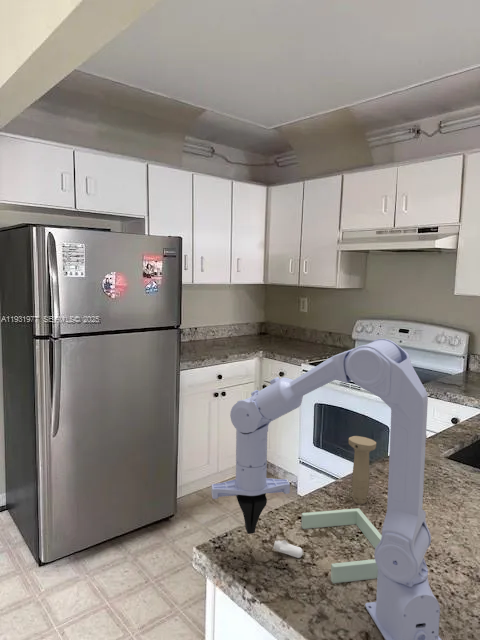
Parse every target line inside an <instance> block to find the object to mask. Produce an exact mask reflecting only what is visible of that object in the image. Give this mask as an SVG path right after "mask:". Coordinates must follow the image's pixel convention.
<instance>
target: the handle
mask: <svg viewBox="0 0 480 640" xmlns="http://www.w3.org/2000/svg"><path fill="white" fill-rule="evenodd" d="M348 445H349V446H350V447H351V448H353V451H354V455H353V456H354V457H353V466H352V473H351V475H352V476H351V478H352V479H351V487H352V488H351V491H352V501H354V503H355V504H360V505H365V504H367V502H368V495H369V490H370V453H371V452H373V451H374V450H376V449H377V441H375V440H374V439H372V438H369V437H365V436H359V435H353V436H350V437H348Z"/></svg>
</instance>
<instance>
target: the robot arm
mask: <svg viewBox="0 0 480 640" xmlns="http://www.w3.org/2000/svg"><path fill="white" fill-rule="evenodd" d="M336 380H337V381H339V382H342V383H345V384H348V383H350V382H352V383H354V384H355V385H356V386H358V387H360V388H361V389H363V390H364V391H367V392H369V393H370V394H373V395H374V396H377V397H378V398H379V399H380V400H381V401H383V402H384V403H385V404H386V405H387V407H389V408H390V431H389V433H390V435H389V436H390V438H389V456H388V457H389V459H388V483H387V484H388V486H387V502H386V503H387V505H386V511H385V512H386V513H385V517H384V520H383V524H382V527H381V535H382V537H381V540H380V542H379V543H378V545H377V546H376V548H374V559H375V561H376V564H377V566H378V575H377V578H376V579H377V580H376V600H375V601H373V602H372V601H371V602H366V603H365V604H364V605H365V609H366V610H367V612H368V613H369V615H370V617H371V618H372V620H373V623H375V625H376V627H377V628H378V630H379V632H380V634H381V636H382V637H383V638H384V640H442V638H441V636H439V630H440V616H441V615H440V614H441V609H440V608H441V607H440V603H439V600H438V599H437V598H436V596H435V595H434V593H433V591H432V588H431V586H430V582H429V568H428V565H427V562H426V560H425V554H426V553H427V550H428V549H429V547H430V546H431V542H432V535H431V531H430V530H429V527H428V524H427V520H426V518H427V517H426V516H427V513H426V511H425V510H424V509H423V502H424V482H425V466H426V465H425V462H426V446H427V444H426V443H427V440H426V439H427V424H428V423H427V421H428V401H429V398H428V392H427V390H426V388H425V386H424V384H423V383H422V381H421V379H420V377H419V376H418V374H417V372H416V370H415V368H414V366H413V364H412V362H411V359H410V354H409V353H408V351H406V350H405V349H403V348H402V347H401V346H400V345H399V344H397V343H396V342H394V341H393V340H391V339H389V338H377V339H374V340H372V341H371V342H369V343H366V344H363V345H362V344H361V345H358V346H357V347H356V346H355V347H354V348H351V349H348V350H345V351H343V352H340V353H338V354H335V355H332V356H331V357H328V358H327V359H326V360H323V362H321V363H319V364H318V365H316V366H314V367H312V368H311V369H309V370H307V371H306V372H305V373H303V374H301V375H299V376H298V377H296V378H295V379H292V378H289V377H286V376H285V377H284V376H283V377H281V378H280V377H279V376H277V377H274V378H273V379H271V380H269V383H270V384H269V385H267V386H266V387H264V388H262V389H260V390H258V389H255V390H253V391H252V392H251V393H250V395H251V396H250V397H247V398H245V399H240V400H238V401H237V402H236V403H235V404H234V405H233V406H232V407H231V410H230V413H229V414H230V417H229V418H230V421H231V423H232V425H233V427H234V428H235V430H236V432H235V433H236V434H235V435H236V437H235V439H236V440H235V479H231V480H227V481H224V482H218V483H212V484H211V492H210V493H211V494H210V495H211V496H212V500H217V499H219V498H220V497H236V500H237V503H238V505H239V507H240V509H241V513H242V514H243V518H244V519H243V521H244V524H245V525H244V527H245V531H246V534H247V535H251V534H255V532H256V528H257V524H258V521H259V519H260V516H261V515H262V513H263V510H264V509H265V507H266V506H267V504H268V503H267V502H268V498H267V494H276V493H278V494H279V493H283V494H285V495H286V494H287V495H288V494H290V493H291V482H289V480H288V479H287V478H285V479H284V478H282V479H280V478H271V477H270V478H268V477H267V473H268V472H267V470H268V469H267V467H268V465H267V463H268V462H267V461H268V432H269V426H270V423H271V422H273V421H275V420H277V419H279V418H281V417H283V416H285V415H286V414H289V413H290V412H293V411H294V410H296V409H298V408H300V407H301V405H302V403H303V402H302V401H303V397H304V396H305V395H307V394H309V393H312V392H313V391H316V390H318V389H319V388H322V387H323V386H326V385H328V384H330V383H331V382H334V381H336Z"/></svg>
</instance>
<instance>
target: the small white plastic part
mask: <svg viewBox="0 0 480 640" xmlns="http://www.w3.org/2000/svg"><path fill="white" fill-rule="evenodd" d="M273 550H275V552H279V553H282V554H286V555H288V556H291V557H293V558H294V557H295V558H297V559H301V558H302V556H303V555H305V556H306V554H304V553H303V548H301V547H300V546H296V545H294V544H291V543H288V542H287V540H286V539H283V540H279V539H278V540H277V539H276V540H275V541H274V543H273Z"/></svg>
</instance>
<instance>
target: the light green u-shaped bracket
mask: <svg viewBox="0 0 480 640" xmlns="http://www.w3.org/2000/svg"><path fill="white" fill-rule="evenodd" d="M350 525H356V527H358V528H359V530H360V532H362V534H363V536H365V538H366V539H367V540H368V541H369V543H370V544H371V545H372V547H373V548H374V549H375V548H376V546H377V545H378V543H379V542H380V540H381V537H382V533H381V532H379V530H378V529H377V528H376V527H375V525H374V524H373V523H372V522H371V520H370V519H369V517H367V516H366V515H365V514H364V513H363V511H362V510H361V509H360V508H359V507H358V508H349V509H348V508H347V509H344V508H343V509H336V510H335V509H334V510H322V511H311V512H301V526H300V527H301V528H302V529H303V530H307V529H315V528H316V529H318V528H327V527H328V528H330V527H340V526H350ZM330 566H331V567H330V581H331V583H332V584H340V583H341V584H342V583H348V582H357V581H366V580H367V581H368V580H375V579H377V575H378V566H377V564H376V561H375V558H374V559H365V560H363V559H362V560H356V561H354V560H353V561H343V562H336V563H331V565H330Z"/></svg>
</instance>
